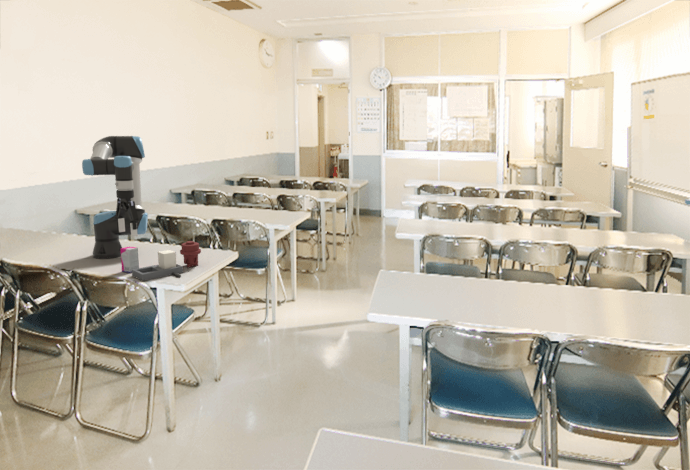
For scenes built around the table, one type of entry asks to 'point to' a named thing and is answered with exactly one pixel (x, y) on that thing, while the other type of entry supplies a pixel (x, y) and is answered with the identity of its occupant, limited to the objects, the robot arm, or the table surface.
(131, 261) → the supplement box
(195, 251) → the mechanical component
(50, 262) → the table surface
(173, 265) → the grey double recess tray
